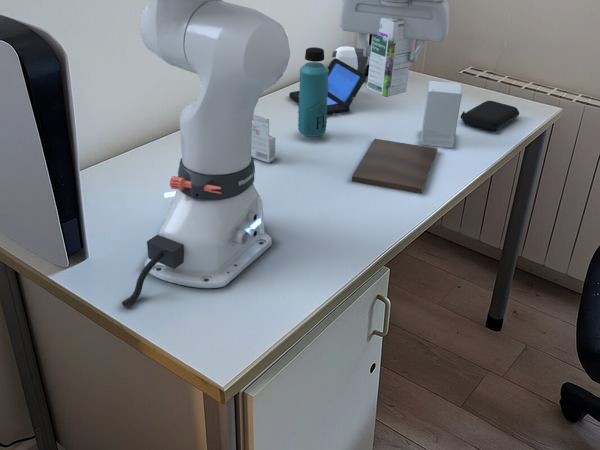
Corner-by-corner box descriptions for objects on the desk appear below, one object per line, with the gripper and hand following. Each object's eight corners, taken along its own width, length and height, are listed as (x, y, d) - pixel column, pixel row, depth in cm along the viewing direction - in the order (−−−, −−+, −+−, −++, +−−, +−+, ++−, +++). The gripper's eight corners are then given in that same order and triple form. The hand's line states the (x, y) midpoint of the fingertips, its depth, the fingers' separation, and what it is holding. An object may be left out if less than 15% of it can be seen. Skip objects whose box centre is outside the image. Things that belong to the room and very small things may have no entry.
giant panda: (331, 81, 186) (333, 47, 181) (329, 75, 190) (331, 41, 185) (384, 82, 187) (387, 47, 182) (381, 75, 191) (384, 42, 186)
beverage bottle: (316, 145, 149) (320, 55, 139) (291, 137, 152) (293, 49, 142) (331, 135, 154) (336, 48, 143) (307, 128, 157) (310, 42, 147)
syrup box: (365, 89, 133) (372, 14, 126) (387, 84, 137) (395, 10, 129) (385, 98, 130) (393, 21, 122) (407, 92, 133) (416, 17, 125)
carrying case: (480, 107, 172) (453, 123, 162) (482, 96, 171) (455, 111, 161) (520, 118, 167) (494, 136, 157) (523, 106, 165) (497, 123, 155)
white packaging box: (453, 148, 150) (462, 94, 143) (419, 145, 151) (427, 90, 144) (453, 135, 156) (462, 82, 149) (421, 132, 157) (428, 79, 151)
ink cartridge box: (234, 146, 147) (233, 103, 142) (275, 159, 142) (276, 116, 137) (227, 150, 145) (226, 106, 140) (268, 163, 140) (269, 119, 135)
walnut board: (421, 193, 131) (422, 188, 130) (351, 181, 135) (352, 176, 134) (437, 153, 147) (437, 148, 147) (374, 143, 151) (374, 138, 150)
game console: (287, 97, 174) (287, 63, 169) (332, 90, 180) (334, 56, 175) (316, 118, 162) (318, 82, 158) (364, 110, 168) (367, 74, 163)
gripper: (338, -19, 123) (333, 56, 130) (451, -8, 118) (440, 70, 125) (346, -25, 128) (342, 47, 135) (456, -15, 123) (445, 60, 130)
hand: (390, 58), depth 130 cm, fingers closed on syrup box, 7 cm apart
